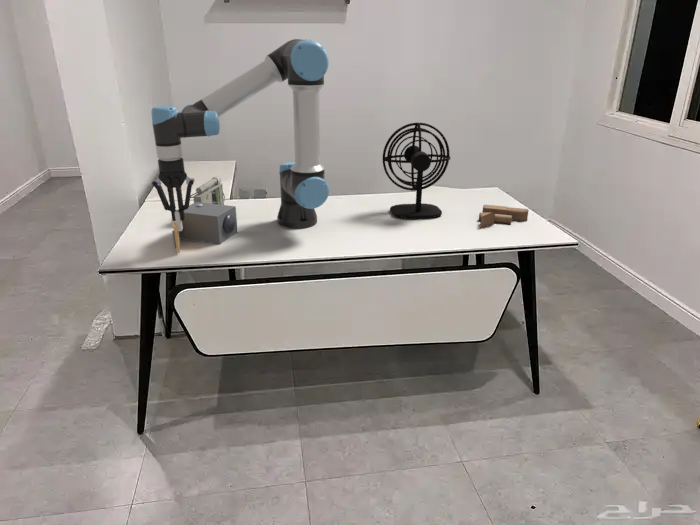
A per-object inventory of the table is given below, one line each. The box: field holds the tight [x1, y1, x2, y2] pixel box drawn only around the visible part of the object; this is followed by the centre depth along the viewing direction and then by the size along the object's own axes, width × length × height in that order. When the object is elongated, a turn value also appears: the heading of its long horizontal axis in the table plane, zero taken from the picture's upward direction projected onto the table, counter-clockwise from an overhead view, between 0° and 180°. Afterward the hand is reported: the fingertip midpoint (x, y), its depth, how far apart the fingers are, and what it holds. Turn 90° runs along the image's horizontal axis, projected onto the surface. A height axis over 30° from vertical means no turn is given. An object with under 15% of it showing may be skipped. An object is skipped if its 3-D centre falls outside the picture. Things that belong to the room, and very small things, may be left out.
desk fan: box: [382, 122, 451, 219], centre depth 212 cm, size 27×18×35 cm, turn 97°
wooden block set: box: [478, 204, 529, 229], centre depth 207 cm, size 17×6×18 cm
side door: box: [171, 221, 181, 254], centre depth 182 cm, size 15×2×9 cm, turn 16°
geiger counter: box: [190, 175, 226, 205], centre depth 214 cm, size 14×6×25 cm
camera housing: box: [179, 202, 239, 245], centre depth 191 cm, size 17×12×11 cm
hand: (179, 229), depth 178 cm, fingers closed
